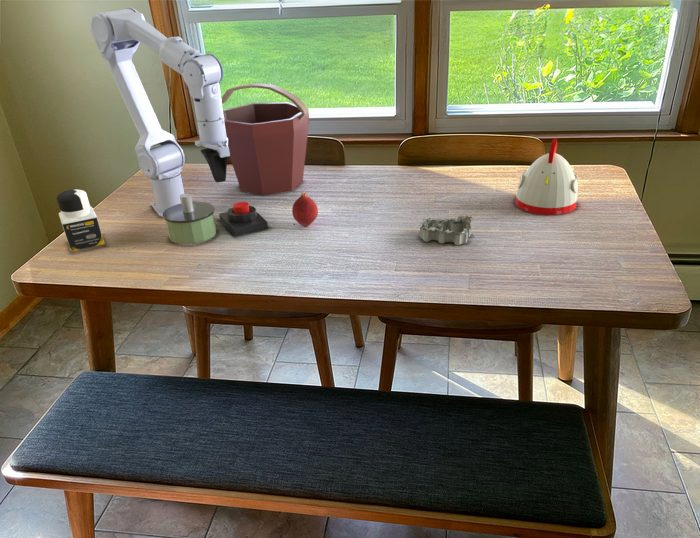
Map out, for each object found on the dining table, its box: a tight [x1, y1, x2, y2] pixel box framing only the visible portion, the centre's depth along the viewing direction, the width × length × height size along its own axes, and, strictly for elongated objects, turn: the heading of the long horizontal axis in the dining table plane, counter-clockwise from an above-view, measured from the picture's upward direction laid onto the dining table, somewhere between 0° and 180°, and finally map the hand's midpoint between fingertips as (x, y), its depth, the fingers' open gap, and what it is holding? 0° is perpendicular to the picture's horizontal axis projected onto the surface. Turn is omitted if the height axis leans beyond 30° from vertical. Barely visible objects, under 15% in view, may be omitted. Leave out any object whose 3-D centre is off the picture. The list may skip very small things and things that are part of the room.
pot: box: [164, 213, 217, 245], centre depth 137 cm, size 10×10×6 cm
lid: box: [162, 192, 215, 223], centre depth 135 cm, size 11×11×5 cm
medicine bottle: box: [56, 188, 105, 252], centre depth 134 cm, size 7×7×12 cm
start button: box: [232, 201, 250, 214], centre depth 141 cm, size 4×4×2 cm
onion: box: [291, 191, 319, 228], centre depth 139 cm, size 6×6×8 cm
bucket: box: [221, 82, 310, 196], centre depth 159 cm, size 24×22×25 cm
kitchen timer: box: [515, 138, 579, 216], centre depth 142 cm, size 14×14×15 cm
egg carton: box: [418, 215, 473, 246], centre depth 132 cm, size 11×8×4 cm
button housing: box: [218, 205, 269, 237], centre depth 142 cm, size 11×8×4 cm
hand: (220, 181), depth 138 cm, fingers closed
